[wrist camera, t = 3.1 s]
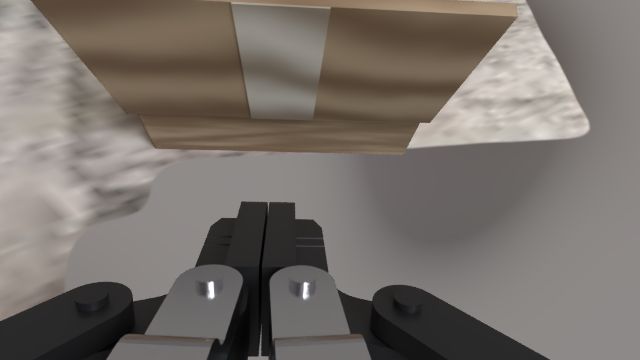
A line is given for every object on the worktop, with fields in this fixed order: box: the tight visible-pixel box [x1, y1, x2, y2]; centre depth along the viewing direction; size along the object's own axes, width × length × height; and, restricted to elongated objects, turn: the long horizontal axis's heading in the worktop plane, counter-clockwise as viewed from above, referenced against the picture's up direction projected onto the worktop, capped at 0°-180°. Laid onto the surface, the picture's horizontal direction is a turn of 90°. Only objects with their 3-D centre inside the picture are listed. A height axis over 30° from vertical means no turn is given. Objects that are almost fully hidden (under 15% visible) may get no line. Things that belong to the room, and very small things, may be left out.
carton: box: [138, 114, 420, 155], centre depth 42 cm, size 14×24×7 cm, turn 91°
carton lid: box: [31, 0, 518, 123], centre depth 29 cm, size 14×25×1 cm
